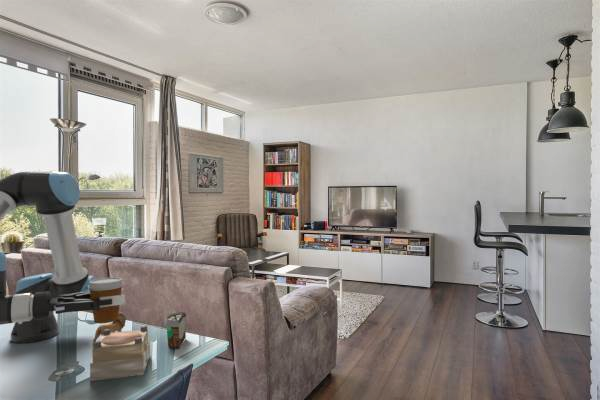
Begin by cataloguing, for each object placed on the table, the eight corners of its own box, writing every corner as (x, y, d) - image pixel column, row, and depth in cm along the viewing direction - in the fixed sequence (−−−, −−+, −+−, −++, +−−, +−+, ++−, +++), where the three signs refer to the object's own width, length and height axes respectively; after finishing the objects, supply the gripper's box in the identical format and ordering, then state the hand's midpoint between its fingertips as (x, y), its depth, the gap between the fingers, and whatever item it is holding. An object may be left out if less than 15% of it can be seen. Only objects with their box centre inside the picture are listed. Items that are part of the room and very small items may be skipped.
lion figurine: (118, 333, 145) (118, 310, 145) (129, 334, 143) (129, 311, 143) (87, 347, 130) (87, 322, 130) (100, 349, 129) (100, 323, 129)
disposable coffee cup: (108, 326, 106) (108, 284, 106) (80, 324, 108) (80, 282, 108) (130, 316, 115) (130, 277, 115) (104, 314, 117) (104, 276, 117)
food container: (169, 338, 139) (169, 311, 139) (186, 337, 139) (186, 310, 139) (160, 351, 126) (159, 321, 127) (178, 350, 127) (178, 321, 127)
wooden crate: (102, 361, 119) (102, 329, 119) (149, 356, 122) (149, 325, 123) (90, 381, 105) (90, 344, 105) (143, 374, 109) (143, 339, 109)
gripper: (38, 310, 112) (122, 300, 123) (26, 331, 94) (126, 317, 104) (38, 285, 112) (122, 278, 123) (26, 301, 94) (126, 290, 105)
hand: (123, 296), depth 114 cm, fingers closed on disposable coffee cup, 8 cm apart
